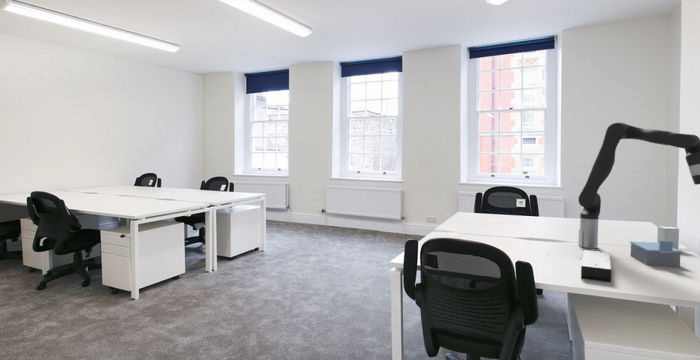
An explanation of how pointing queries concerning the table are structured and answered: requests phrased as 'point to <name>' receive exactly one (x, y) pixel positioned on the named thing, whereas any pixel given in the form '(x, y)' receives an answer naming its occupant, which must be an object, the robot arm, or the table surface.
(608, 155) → the robot arm
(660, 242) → the tub lid
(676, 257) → the parts tub
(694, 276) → the table surface
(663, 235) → the supplement box
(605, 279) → the laminator
